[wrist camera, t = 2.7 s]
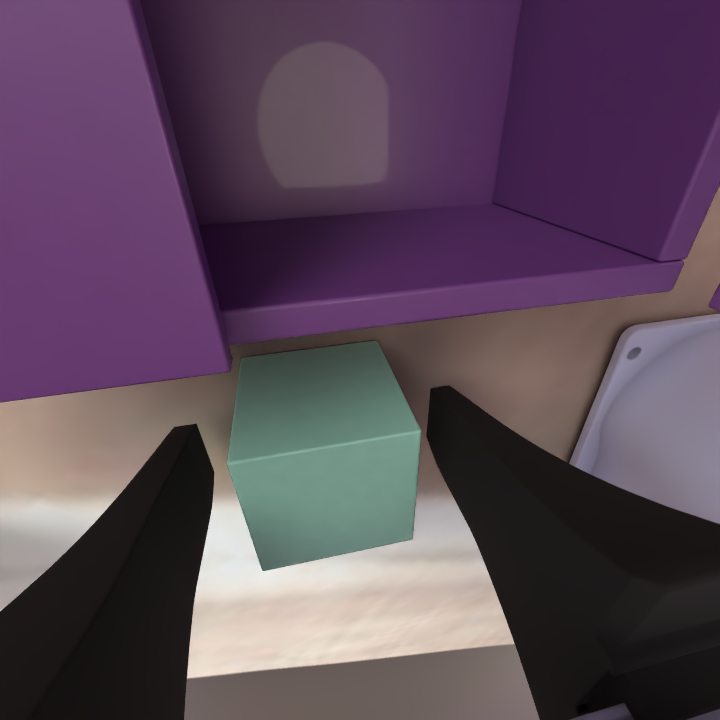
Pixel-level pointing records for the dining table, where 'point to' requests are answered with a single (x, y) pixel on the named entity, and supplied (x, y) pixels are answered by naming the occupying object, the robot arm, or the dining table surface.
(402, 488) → the sticky note cube
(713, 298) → the purple box lid
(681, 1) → the purple open box
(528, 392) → the dining table surface
